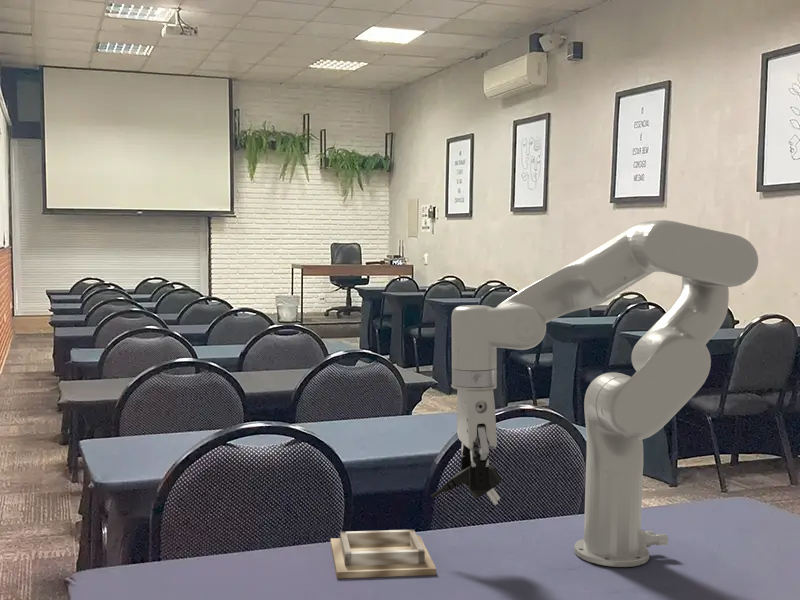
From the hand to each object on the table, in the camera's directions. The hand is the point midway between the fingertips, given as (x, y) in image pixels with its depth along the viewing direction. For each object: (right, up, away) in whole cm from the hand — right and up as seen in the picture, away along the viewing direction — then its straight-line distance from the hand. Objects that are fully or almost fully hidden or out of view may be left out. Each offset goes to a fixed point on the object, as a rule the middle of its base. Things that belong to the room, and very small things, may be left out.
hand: (474, 483), depth 144 cm
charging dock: (-16, -13, -1) cm, 20 cm away
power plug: (-1, -3, +1) cm, 4 cm away
